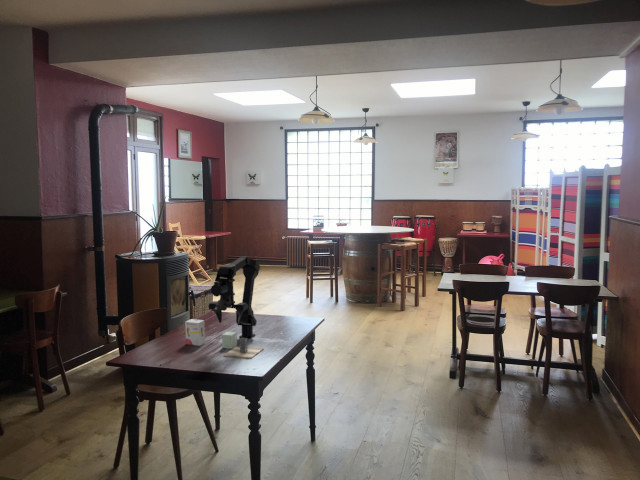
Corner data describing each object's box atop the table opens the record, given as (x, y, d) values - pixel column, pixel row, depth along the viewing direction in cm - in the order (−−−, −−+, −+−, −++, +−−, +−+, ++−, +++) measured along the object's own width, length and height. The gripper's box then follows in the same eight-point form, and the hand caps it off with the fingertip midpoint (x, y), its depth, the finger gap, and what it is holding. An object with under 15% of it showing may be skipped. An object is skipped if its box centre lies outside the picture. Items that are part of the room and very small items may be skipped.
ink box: (185, 344, 258) (184, 321, 257) (191, 341, 263) (190, 318, 261) (199, 346, 255) (198, 322, 254) (205, 343, 259) (204, 320, 258)
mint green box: (227, 344, 256) (227, 331, 256) (236, 345, 255) (236, 332, 254) (222, 347, 251) (221, 334, 251) (232, 348, 250) (231, 335, 249)
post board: (237, 347, 252) (237, 346, 252) (263, 349, 248) (263, 348, 248) (223, 356, 238) (223, 355, 238) (251, 358, 234) (251, 357, 234)
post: (242, 350, 245) (242, 337, 244) (247, 351, 244) (247, 337, 243) (240, 352, 242) (239, 338, 241) (245, 352, 241) (244, 339, 241)
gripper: (201, 294, 245) (203, 326, 247) (237, 296, 239) (238, 329, 241) (213, 289, 255) (214, 320, 257) (247, 291, 250) (249, 322, 252)
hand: (228, 323), depth 252 cm, fingers open, 9 cm apart
